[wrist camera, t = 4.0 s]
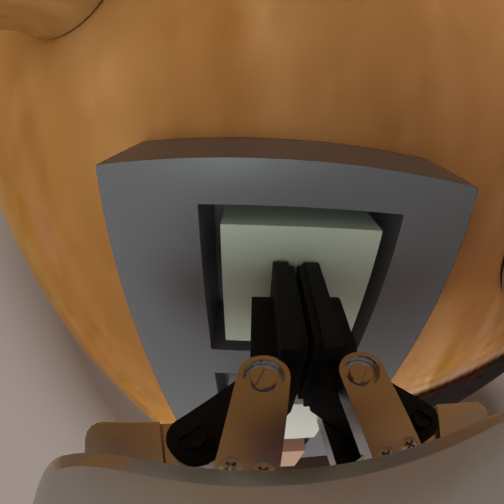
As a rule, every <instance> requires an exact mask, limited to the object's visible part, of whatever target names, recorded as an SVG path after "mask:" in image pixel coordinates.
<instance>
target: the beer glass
mask: <svg viewBox="0 0 504 504" xmlns="http://www.w3.org/2000/svg"><path fill="white" fill-rule="evenodd" d="M101 1H102V0H0V30H13V31H18V32H21V33H24V34H27V35H30V36H32V37H35V38H38V39H45V40H47V39H54V38H57V37H60V36H62V35H64V34H66V33H68V32H70V31H71V30H73V29H74V28H76V27H77V26H78V25H80V24H81V23H82V22H83V21H84V20H85V19H86V18H87V17H88V16H89V15H90V14H91V13H92V12H93V11H94V10H95V9H96V7H97V6H98V5H99V4H100V2H101Z"/></svg>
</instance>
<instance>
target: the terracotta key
mask: <svg viewBox="0 0 504 504" xmlns="http://www.w3.org/2000/svg"><path fill="white" fill-rule="evenodd" d="M304 451H305V443H304V438H295V439H284V444H283V452H282V459H281V466H294V465H295V464H296V463H297V461H298V460H299V458H300V457H301V456H302V454H303V453H304Z"/></svg>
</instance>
